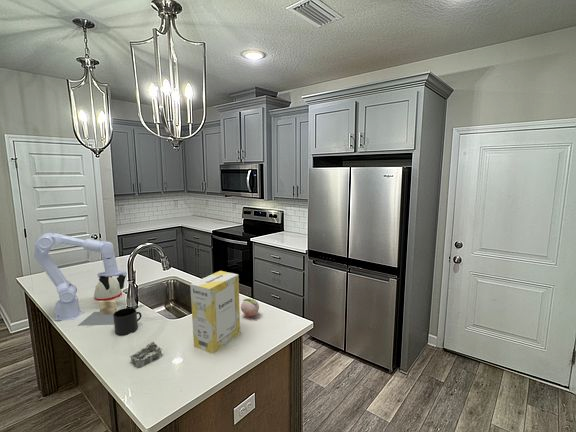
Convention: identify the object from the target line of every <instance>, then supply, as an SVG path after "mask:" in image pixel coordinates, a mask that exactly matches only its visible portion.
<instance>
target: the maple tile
mask: <svg viewBox="0 0 576 432" xmlns="http://www.w3.org/2000/svg"><path fill="white" fill-rule="evenodd" d="M98 307H99V308H98V309H99V312H100V315H109V314H114V313H115V312H116V311H118V305H117V300H106V301H98Z"/></svg>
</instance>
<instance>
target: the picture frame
mask: <svg viewBox="0 0 576 432" xmlns="http://www.w3.org/2000/svg"><path fill="white" fill-rule="evenodd" d="M108 325H109V326H110V325H111V326H112V325H113V326H114V318H113V314H109V315H100V311H93V312H92V313H91V314H90V315H89V316H87V317H86V318H84V319H83V321H81V322H80V323H79V324H78V325H77V327H81V326H82V327H83V326H108Z"/></svg>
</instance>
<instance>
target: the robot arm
mask: <svg viewBox="0 0 576 432" xmlns="http://www.w3.org/2000/svg"><path fill="white" fill-rule="evenodd" d="M62 244H66V245H70V246H78V247H82V248H83V250H85V251H89V252H95V253H101V255H102V262H103V267H104V271H103V272H98V273H97V274H96V275H97V278H98V281H100V282H101V283H102V284H103V285H104V287H105V289H106V290H108V289H109V288H110V286H109V276H112V277H116V281H117V282H118V284H119V286H120V289H121V290H122V289H124V287H125V280H126V277H127V275H128V273H127V271H126V270H125V271H124V270H118V265H117V260H116V254H115V250H114V249H115V248H114V244H113V242H111V241H106V240H97V239H95V238H93V237H90V238H87V239H81V238H76V237H72V236H69V235H65V234H61V233H56V232H55V233H54V232H45V233H43V234H42V235H41V236H40V237H39V238H38V239H37V240H36V241H35V243H34V254H33V256H34V259H36V261H37V262H38V264H39V265H40V267H41V268H42V269H43V271H44V272H45V273H46V275H47V276H48V278H49V279H50V280H51V282H52V283H53V285H54V287H56V292H57V294H58V295H59V296H58V297H59V300H57V301H56V302H55V305H54V312H55V313H54V314H55V320H54V321H74V320H76V319H77V318H79V317H81V315H83V314H84V311H80V304H79V297H78V296H77V295H76V294H77V292H78V287H77V286H76V285H74V284H72V282H71V281H69V280H68V279H67V278H66V277H65V275H64V273H63V272H62V271H61V270H60V269H59V267H58V266H57V264H56V263H55V261H54V260H53V258H52V257H51V256H50V254H49V253H50V251H51V249H52V247H53V246H55V247H57V246H60V245H62ZM99 277H100V278H99Z"/></svg>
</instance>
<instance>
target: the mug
mask: <svg viewBox="0 0 576 432" xmlns="http://www.w3.org/2000/svg"><path fill="white" fill-rule="evenodd" d="M138 315H139V317H138ZM113 318H114V325H113V326H114V333H115V335H117V336H128V335H130V334H132V333H136V331H137V330H138V329H139V328H138V327H139V325H138V322H139V321H140V320H141V319H142V313H141V312H140V311H137V309H136V308H135V307H124V308H121V309H117V311H116V312H115V313H114V314H113Z"/></svg>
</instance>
